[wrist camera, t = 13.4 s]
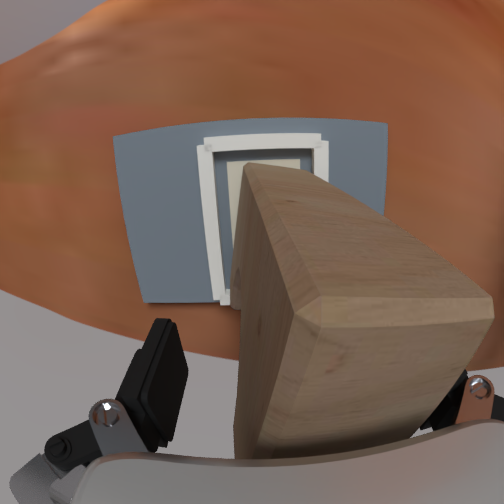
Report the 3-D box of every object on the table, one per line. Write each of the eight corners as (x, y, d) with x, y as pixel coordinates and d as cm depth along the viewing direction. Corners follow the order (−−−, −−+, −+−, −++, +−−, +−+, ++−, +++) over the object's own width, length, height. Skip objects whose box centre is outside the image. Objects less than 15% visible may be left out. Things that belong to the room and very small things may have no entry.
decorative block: (286, 286, 27) (352, 493, 9) (227, 281, 27) (231, 506, 8) (311, 170, 23) (510, 305, 5) (243, 160, 22) (306, 301, 4)
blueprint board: (380, 123, 22) (392, 123, 20) (367, 286, 29) (375, 298, 27) (119, 135, 23) (107, 137, 21) (148, 295, 30) (141, 307, 28)
